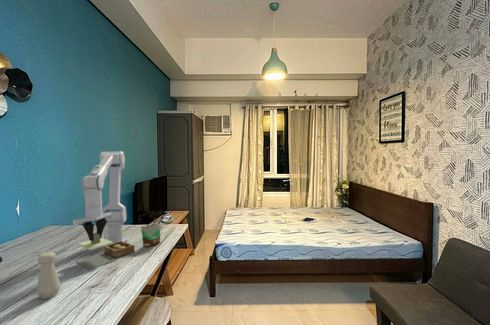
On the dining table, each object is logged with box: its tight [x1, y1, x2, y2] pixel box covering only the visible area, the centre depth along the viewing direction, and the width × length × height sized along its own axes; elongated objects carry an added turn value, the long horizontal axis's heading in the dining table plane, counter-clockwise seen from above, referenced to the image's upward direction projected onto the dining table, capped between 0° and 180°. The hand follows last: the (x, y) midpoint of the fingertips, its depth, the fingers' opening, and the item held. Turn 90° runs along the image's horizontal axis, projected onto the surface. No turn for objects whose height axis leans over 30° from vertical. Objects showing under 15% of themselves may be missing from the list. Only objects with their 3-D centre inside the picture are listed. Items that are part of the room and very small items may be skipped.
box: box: [103, 241, 135, 259], centre depth 112 cm, size 10×8×3 cm
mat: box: [75, 252, 117, 271], centre depth 103 cm, size 12×10×1 cm
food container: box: [140, 219, 163, 248], centre depth 122 cm, size 12×6×10 cm, turn 168°
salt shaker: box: [36, 251, 61, 300], centre depth 79 cm, size 6×6×13 cm
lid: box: [77, 232, 113, 251], centre depth 103 cm, size 11×9×4 cm
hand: (95, 239), depth 103 cm, fingers closed on lid, 2 cm apart
